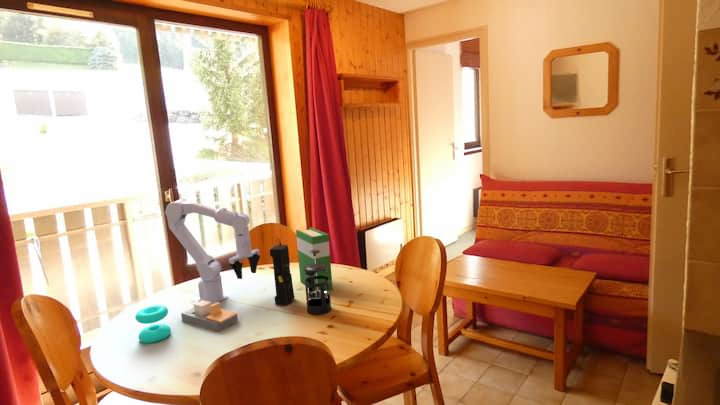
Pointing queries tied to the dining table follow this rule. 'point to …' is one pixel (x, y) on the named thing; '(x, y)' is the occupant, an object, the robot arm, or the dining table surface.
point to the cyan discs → (156, 330)
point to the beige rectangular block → (202, 308)
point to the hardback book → (307, 243)
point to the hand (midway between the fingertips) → (246, 275)
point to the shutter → (219, 313)
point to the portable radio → (282, 275)
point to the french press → (317, 297)
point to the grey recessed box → (206, 320)
